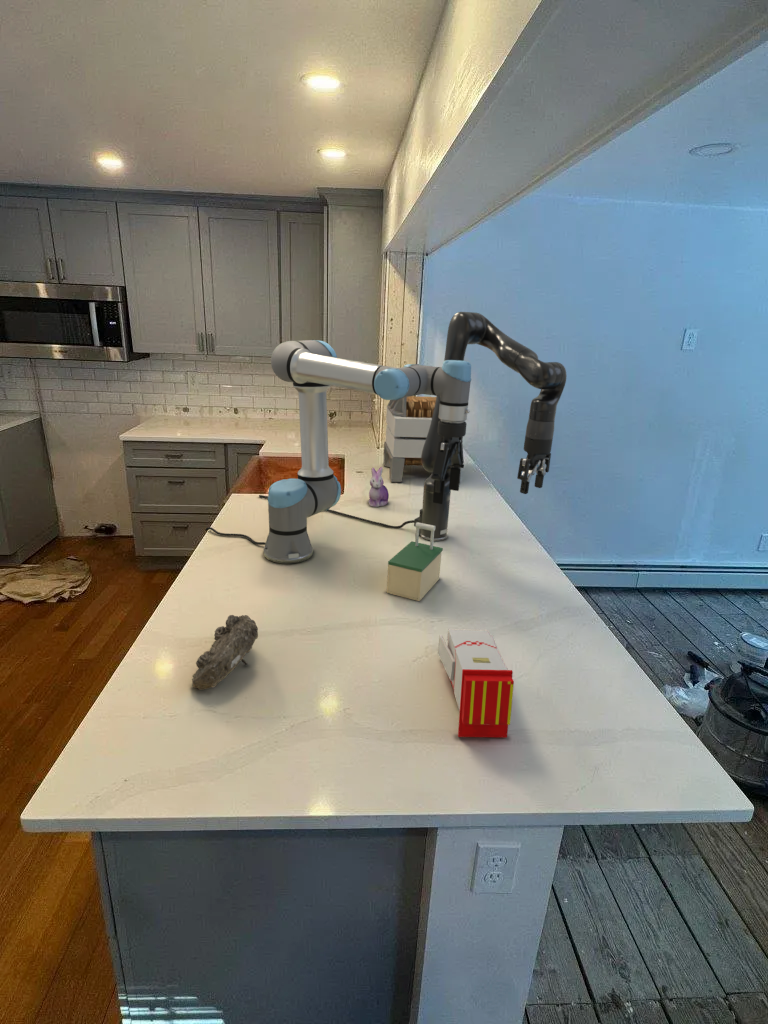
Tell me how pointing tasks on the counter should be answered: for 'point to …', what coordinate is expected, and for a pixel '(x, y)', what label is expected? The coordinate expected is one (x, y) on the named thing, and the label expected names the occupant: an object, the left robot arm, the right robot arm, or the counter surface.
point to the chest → (413, 580)
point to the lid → (417, 552)
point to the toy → (478, 682)
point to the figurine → (377, 489)
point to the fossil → (225, 651)
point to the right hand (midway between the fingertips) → (531, 490)
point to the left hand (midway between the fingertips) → (446, 496)
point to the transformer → (406, 433)
